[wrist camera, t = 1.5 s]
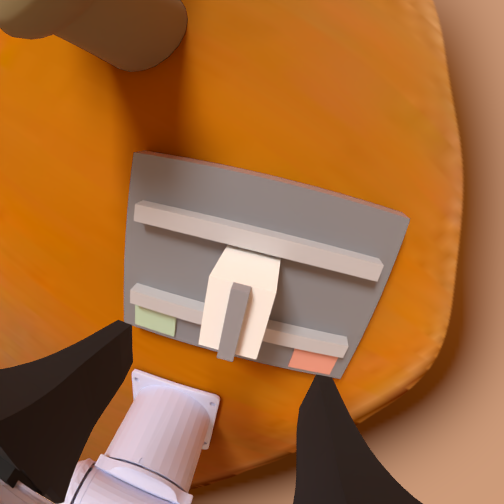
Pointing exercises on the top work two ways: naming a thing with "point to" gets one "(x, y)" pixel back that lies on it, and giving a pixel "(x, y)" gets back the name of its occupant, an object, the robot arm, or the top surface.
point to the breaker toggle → (239, 302)
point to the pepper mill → (103, 27)
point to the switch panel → (260, 240)
